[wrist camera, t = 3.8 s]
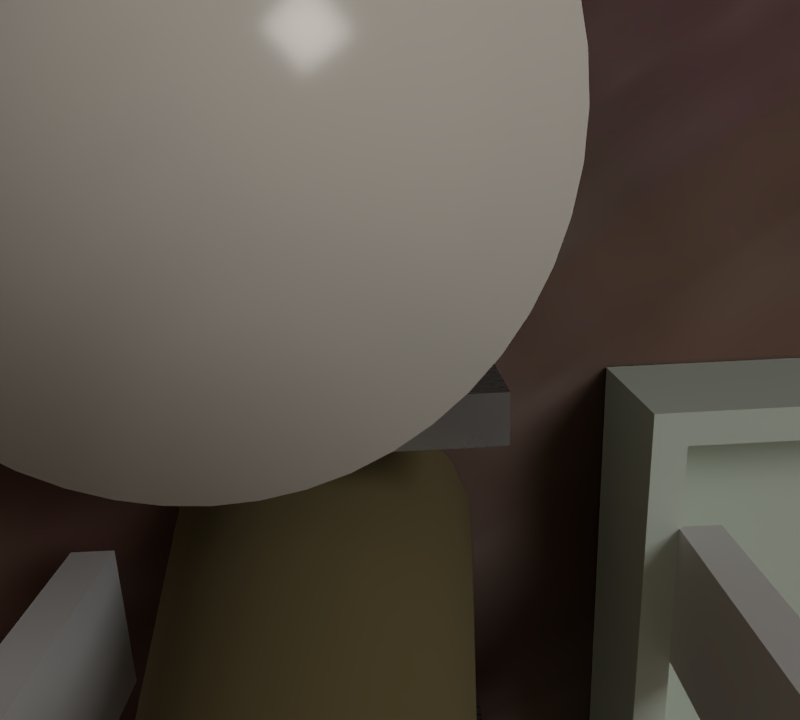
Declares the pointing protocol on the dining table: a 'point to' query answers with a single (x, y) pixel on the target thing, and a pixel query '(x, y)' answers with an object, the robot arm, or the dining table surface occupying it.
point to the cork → (322, 603)
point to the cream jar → (269, 229)
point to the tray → (686, 509)
